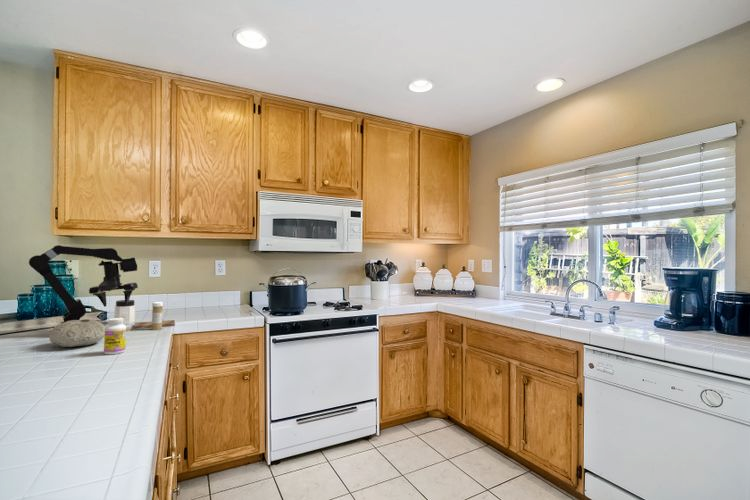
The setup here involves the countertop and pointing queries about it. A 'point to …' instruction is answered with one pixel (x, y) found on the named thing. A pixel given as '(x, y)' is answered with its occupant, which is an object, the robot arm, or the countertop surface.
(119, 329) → the supplement bottle
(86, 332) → the grey rock
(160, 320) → the sprinkles bottle
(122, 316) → the jar
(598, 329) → the countertop surface
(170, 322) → the board
